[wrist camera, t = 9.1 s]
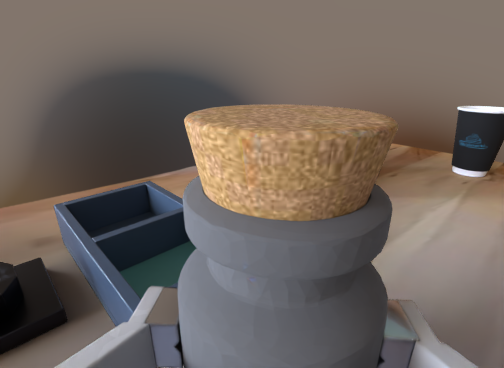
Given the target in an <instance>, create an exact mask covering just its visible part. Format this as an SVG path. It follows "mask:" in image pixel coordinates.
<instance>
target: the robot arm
mask: <svg viewBox="0 0 504 368" xmlns="http://www.w3.org/2000/svg"><path fill="white" fill-rule="evenodd" d="M183 365H184V362H183V352H182V343H181V334H180V324H179V307H178V288H177V287H161V286H151V287H149V288H148V289H147V291H146V293H145V294H144V296H143V298H142V299H141V301H140V303H139V304H138V306H137V308H136V309H135V311H134V313H133V314H132V316H131V318H130V319H129V321H128V322H123V323H121V324H120V325H118V326H117V327H115V328H114V329H112V330H111V331H109V332H108V333H106V334H105V335H103V336H102V337H100V338H99V339H97V340H96V341H94V342H93V343H91V344H90V345H88V346H87V347H85V348H84V349H82V350H80V351H79V352H77V353H76V354H74V355H73V356H71V357H70V358H68V359H67V360H65V361H64V362H62V363H61V364H59V365H58V366H56V367H55V368H156V367H173V368H183ZM376 368H479V367H478V366H476V365H475V364H474V363H472V362H471V361H469V360H468V359H467V358H465V357H464V356H463V355H461V354H460V353H458V352H457V351H456V350H454V349H453V348H451V347H450V346H449V345H447V344H446V343H440V342H439V340H438V339H437V337H436V335H435V334H434V332H433V331H432V329H431V327H430V326H429V324H428V323H427V321H426V320H425V318H424V316H423V315H422V313H421V312H420V310H419V308H418V307H417V305H416V304H415V302H413V301H412V300H390V299H388V308H387V319H386V326H385V330H384V335H383V339H382V344H381V349H380V353H379V358H378V363H377V367H376Z"/></svg>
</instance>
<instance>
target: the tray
mask: <svg viewBox="0 0 504 368" xmlns="http://www.w3.org/2000/svg"><path fill="white" fill-rule="evenodd" d="M54 209H55V213H56V216H57V220H58V224H59V227H60V231H61V235H62V239H63V242H64V245H65V246H66V248H67V249H68V251H69V253H70V254H71V256H72V257H73V259H74V260H75V262H76V264H77V265H78V267H79V268H80V270H81V272H82V273H83V275H84V276H85V278H86V280H87V281H88V283H89V284H90V286H91V288H92V289H93V291H94V292H95V294H96V296H97V297H98V299H99V300H100V302H101V303H102V305H103V307H104V308H105V310H106V311H107V313H108V315H109V316H110V318H111V319H112V321H113V323H114V324H115V326H116V327H117V326H118V325H120V324H121V323H123V322H128V321H129V319H130V318H131V316H132V314H133V313H134V311H135V309H136V308H137V306H138V304H139V303H140V301H141V299H142V298H143V296H144V294H145V293H146V291H147V289H148V288H149V287H151V286H161V287H177V288H178V280H179V277H180V273H181V270H182V268H183V266H184V264H185V262H186V261H187V259H188V258H189V256H190V255H191V254H192V253H193V252H194V251H195V249H196V247H195V245H194V244H193V243H192V242H191V240H190V239H189V237H188V234H187V232H186V229H185V222H184V211H183V199H182V198H180V197H178V196H176V195H174V194H173V193H171V192H169V191H167V190H165V189H164V188H162V187H160V186H158V185H156V184H155V183H153V182H151V181H147V182H144V183H139V184H135V185H131V186H127V187H123V188H119V189H115V190H111V191H107V192H103V193H99V194H95V195H91V196H87V197H84V198H80V199H76V200H72V201H68V202H64V203H60V204H56V205H54Z"/></svg>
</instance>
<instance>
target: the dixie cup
mask: <svg viewBox="0 0 504 368" xmlns="http://www.w3.org/2000/svg"><path fill="white" fill-rule="evenodd" d="M458 110H459V113H458V121H457V128H456V135H455V143H454V150H453V158H452V165H453V168H452V171H453V172H455V173H457V174H461V175H465V176H471V177H484V176H485V175H486V173H487V171H489V170H490V168H491V166H492V164H493V162H494V160H495V158H496V155H497V153H498V151H499V149H500V147H501V145H502V143H503V140H504V108H503V107H488V106H460V107H458Z"/></svg>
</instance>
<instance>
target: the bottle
mask: <svg viewBox="0 0 504 368" xmlns="http://www.w3.org/2000/svg"><path fill="white" fill-rule="evenodd" d="M184 121H185V127H186V130H187V133H188V136H189V141H190V144H191V148H192V151H193V155H194V158H195V162H196V165H197V169H198V172H199V176H197V177H196V178H195V179H193V180H192V181H191V182H190V183H189V184H188V186H187V187H186V189H185V191H184V195H183V211H184V222H185V229H186V232H187V234H188V237H189V239H190V240H191V242H192V243H193V244H194V245H195V247H196V249H195V251H194V252H193V253H192V254H191V255H190V256H189V258H188V259H187V261H186V262H185V264H184V266H183V268H182V270H181V273H180V277H179V280H178V307H179V324H180V334H181V343H182V352H183V362H184V368H376V367H377V363H378V358H379V353H380V349H381V344H382V339H383V335H384V330H385V326H386V319H387V308H388V297H387V292H386V288H385V286H384V284H383V281H382V279H381V277H380V275H379V273H378V272H377V270H376V269H375V267H374V266H373V265H372V263H371V262H370V261H372V260H373V259H374V258H375V257H376V256H377V255H378V254H379V253H380V252H381V251H382V249H383V247H384V245H385V242H386V240H387V237H388V231H389V226H390V221H391V215H392V204H391V201H390V199H389V197H388V195H387V194H386V193H385V192H384V191H383V190H382V189H381V188H380V187H379V186H378V185H376V184H375V181H376V179H377V177H378V174H379V172H380V170H381V167H382V165H383V162H384V160H385V158H386V155H387V153H388V151H389V148H390V146H391V143H392V141H393V139H394V136H395V134H396V132H397V129H398V124H397V122H396V121H395V120H394V119H392V118H390V117H388V116H385V115H382V114H378V113H374V112H369V111H363V110H356V109H348V108H338V107H327V106H311V105H242V106H225V107H216V108H209V109H204V110H200V111H196V112H192V113H191V114H189V115H187V117H186V118H185V120H184Z"/></svg>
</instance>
